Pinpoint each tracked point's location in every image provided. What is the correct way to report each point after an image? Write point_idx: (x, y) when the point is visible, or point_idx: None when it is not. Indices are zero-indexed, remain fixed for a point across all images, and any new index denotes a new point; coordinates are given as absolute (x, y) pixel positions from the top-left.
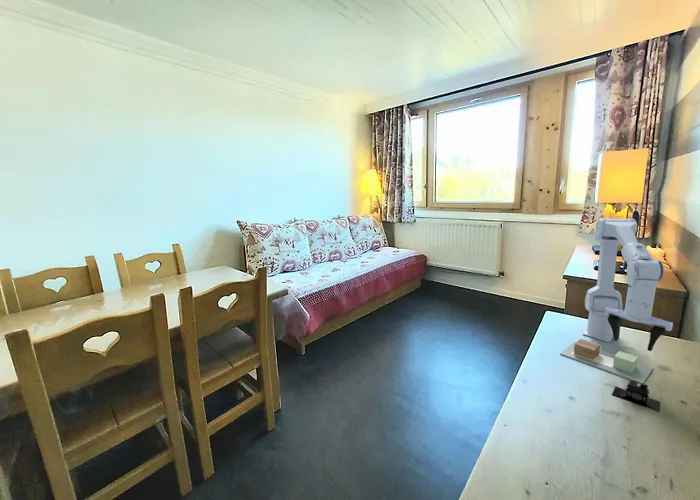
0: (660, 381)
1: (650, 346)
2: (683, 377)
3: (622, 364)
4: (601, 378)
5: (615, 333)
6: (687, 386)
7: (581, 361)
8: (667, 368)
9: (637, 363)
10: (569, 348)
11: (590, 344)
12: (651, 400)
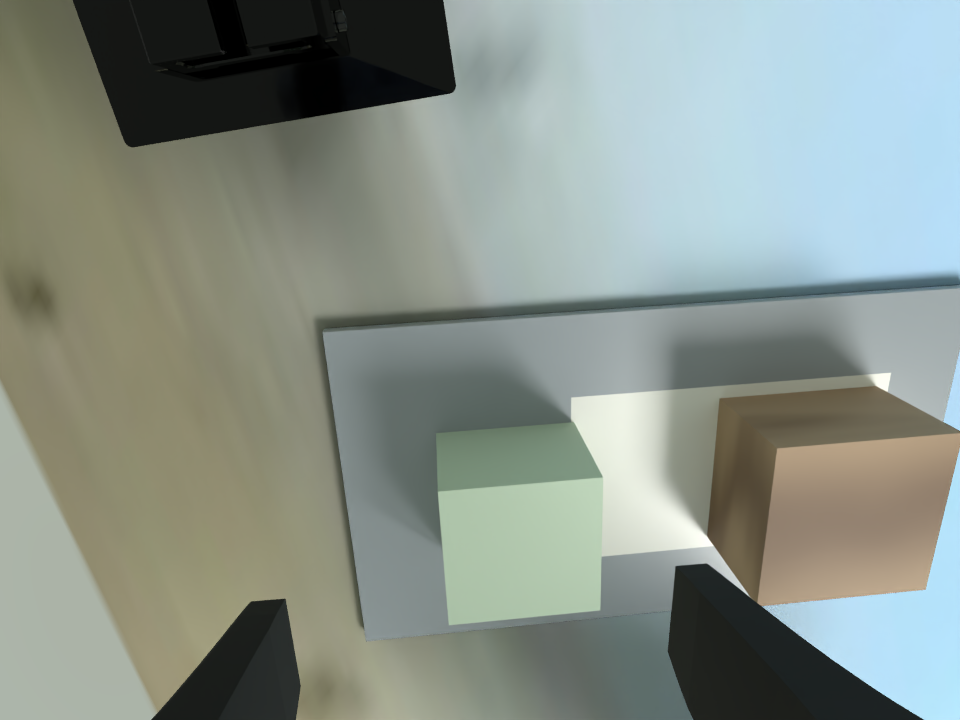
0: (264, 490)
1: (221, 654)
2: None
3: (516, 451)
4: (582, 135)
5: (771, 650)
6: (128, 566)
7: (790, 299)
8: (309, 708)
9: None
10: None
11: (831, 536)
12: (164, 76)
